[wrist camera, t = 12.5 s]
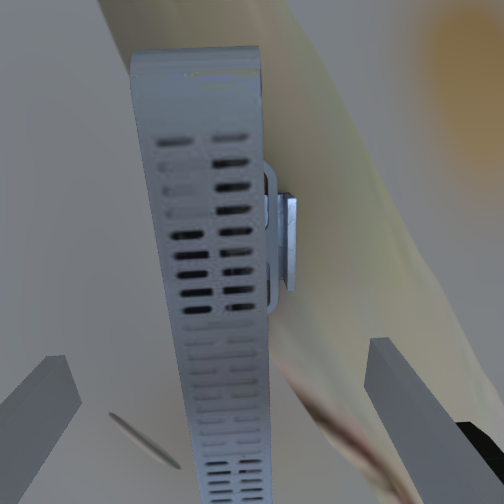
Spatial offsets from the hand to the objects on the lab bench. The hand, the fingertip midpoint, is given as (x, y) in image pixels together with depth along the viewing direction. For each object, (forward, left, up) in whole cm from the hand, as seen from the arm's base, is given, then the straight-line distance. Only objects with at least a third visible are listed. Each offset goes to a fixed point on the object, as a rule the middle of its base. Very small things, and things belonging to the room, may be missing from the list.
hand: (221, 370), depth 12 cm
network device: (+1, 0, -20) cm, 20 cm away
